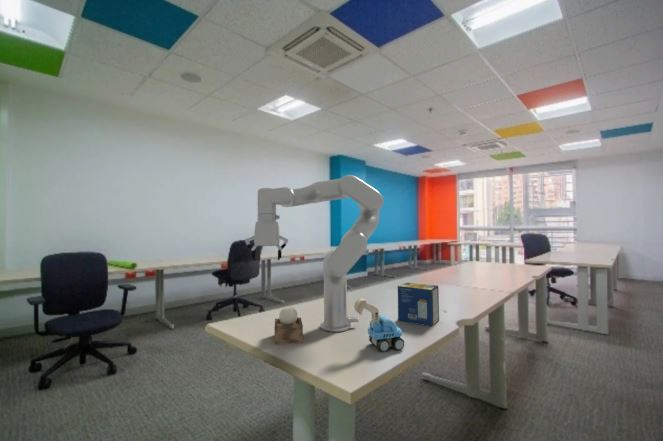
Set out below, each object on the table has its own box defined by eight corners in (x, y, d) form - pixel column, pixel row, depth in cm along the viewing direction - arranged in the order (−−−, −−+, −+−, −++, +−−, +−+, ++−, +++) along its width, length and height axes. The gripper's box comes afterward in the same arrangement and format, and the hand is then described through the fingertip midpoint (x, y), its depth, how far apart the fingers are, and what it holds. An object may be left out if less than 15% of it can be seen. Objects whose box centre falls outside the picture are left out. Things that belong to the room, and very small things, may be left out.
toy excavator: (351, 346, 107) (350, 296, 108) (394, 340, 112) (393, 293, 112) (360, 355, 99) (359, 302, 99) (406, 349, 103) (405, 298, 104)
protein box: (406, 315, 145) (405, 282, 146) (439, 320, 136) (438, 285, 137) (397, 320, 137) (396, 285, 137) (432, 326, 128) (431, 289, 128)
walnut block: (300, 334, 120) (300, 317, 121) (302, 343, 111) (302, 325, 111) (274, 335, 119) (274, 318, 119) (274, 345, 109) (274, 326, 109)
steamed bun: (295, 322, 119) (295, 305, 120) (298, 326, 112) (298, 307, 113) (278, 324, 117) (278, 306, 118) (280, 328, 110) (280, 309, 111)
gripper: (287, 218, 131) (287, 258, 131) (246, 218, 128) (245, 259, 127) (288, 218, 124) (288, 260, 123) (244, 218, 121) (244, 261, 120)
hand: (266, 260), depth 125 cm, fingers open, 9 cm apart
